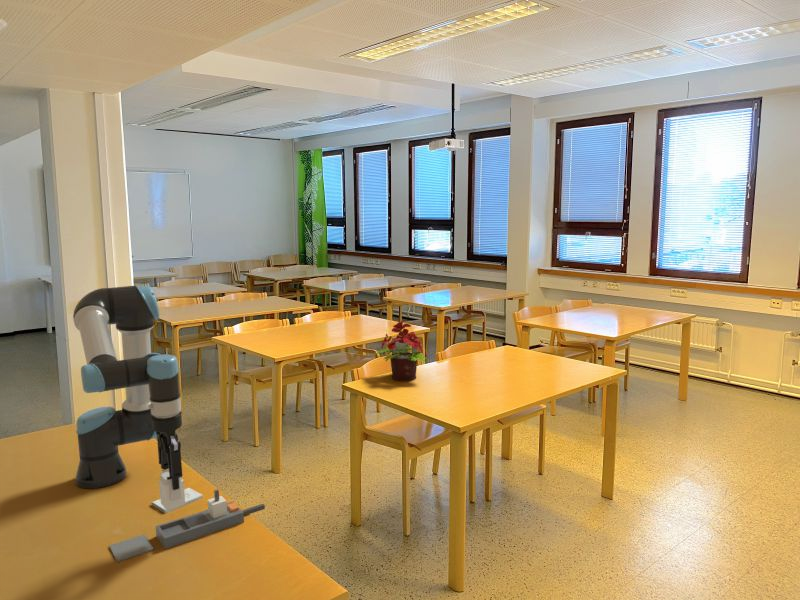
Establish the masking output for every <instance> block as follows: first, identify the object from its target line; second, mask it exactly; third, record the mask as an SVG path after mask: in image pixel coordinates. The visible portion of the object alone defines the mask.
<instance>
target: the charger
mask: <svg viewBox="0 0 800 600" xmlns="http://www.w3.org/2000/svg"><path fill="white" fill-rule="evenodd" d="M169 476H170V475H169V472H165V473H162V472H161V473H159V477H160V478H158V484H159V485H158V486H159V496H160V497H159V499H161V504H162V505H163V507H164V508H165V509H166V510H169V509H172V508H176V507H179V506H182V505H185V494H184V489H185V481H184V479H183V476H182V477H180V488H181V499H178V500H175V501H170V492H169V480H167V477H169ZM185 506H186V505H185ZM182 507H183V506H182Z"/></svg>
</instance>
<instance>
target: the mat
mask: <svg viewBox="0 0 800 600" xmlns="http://www.w3.org/2000/svg"><path fill="white" fill-rule="evenodd" d="M108 547H109V550H110V551H111V553H112V555H113V557H114V559H115V560H116V562H117V563H119V562H123V561H125V560H128V559H131V558H134V557H137V556H140V555H143V554H146V553H149V552H152V551H154V550H155V548H154V547H153V545H152V543H151V542H150V540H149V539H148V537H147V536H146V535H145V534H141V535H138V536H135V537H131V538H129V539H126V540H121V541H119V542H116V543H113V544H110V545H108Z"/></svg>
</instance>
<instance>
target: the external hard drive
mask: <svg viewBox="0 0 800 600" xmlns="http://www.w3.org/2000/svg"><path fill="white" fill-rule="evenodd" d="M184 494H185V505H182V506H179V507H176V508H172V509H169V510H166V509H165V508H164V507H163V505H162V504H161V499H160V498H159V499H157V500H153V501H151V506H152V507H154V508H156V509H157V510H159V511H160V512H162V513H164V514H168V513H170V512H173V511H175V510H177V509H180V508H182V507H185V506H187V505H189V504H191V503H194V502H196V501H199V500H201V499H203V497H204V496H203V494H202V493H200V492H198V491H196V490H194V489H193V488H191V487H187V488H184Z"/></svg>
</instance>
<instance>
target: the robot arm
mask: <svg viewBox="0 0 800 600" xmlns="http://www.w3.org/2000/svg"><path fill="white" fill-rule="evenodd" d="M72 315H73V317H72V318H73V319H72V320H73V323H74V326H75V328H76V330H78V331H79V334H80V337H81V342H82V347H83V352H84V357H85V360H86V365H82V366H81V367H80V376H81V384H82V385H81V386H82V390H83V392H84V393H87V394H92V393H102V392H107V391H114V390H119V389H120V390H121V389H125V400H124V401H123V402H122V403H121V409H118V410H116V409H115V407H113V406H100V407H97V408H93V409H90V410H88V411H85V412H83V413H82V414H81V415H79V417H78V418H77V419H76V430H75V431H76V432H75V433H76V434H77V441H78V443H77V444H78V455H79V462H78V467H77V470H76V474H75V484H76V486H77V487H79V488H82V489H98V488H104V487H108V486H111V485H112V486H113V485H114V484H117V483H119V482H121V481H122V480H123V479H125V478H126V476H127V468H126V465H125V463H124V461H123V458H122V457H121V455H120V452H119V446H123V445H129V444H130V445H131V444H134V443H140V442H143V441H150V440H153V439H156V441H157V443H156V444H157V451H158V452H157V453H158V464H159V465H160V468H161V471H162V472H161V473H165V472H169V475H170V476H169V477H167V480H169V492H170V501H175V500H178V499H181V488H180V477H182V478H183V467H182V465H183V464H182V454H181V453H182V452H181V448H182V444H181V441H179V437H178V434H177V433H176V431H177V430H178V429H180V428H181V427H182V426H183V420H182V419H183V418H182V412H181V411H182V402H181V399H182V398H181V392H180V377H179V375H180V374H179V372H180V367H179V365H178V364H179V363H178V357H177V356H175V355H173V354H161V353H158V352H152V347H151V344H152V343H151V330H152V329H153V328H154V327H155V321H158V320H159V319H160V309H159V305H158V301H157V297H156V294H155V292H154V289H153V288H152V287H151V286H150V285H137V284H136V285H128V286H127V285H126V286H115V287H103V288H102V287H101V288H97V289H95V290H92V291H90V292H88V293H87V294H85V295H84V296H83V297H82V298H81V299H80V300H79V301H78V303H77V304H76V306H75V308H74V310H73V314H72ZM109 325H115V329H116V330H117V331H118V332H120V333H121V344H122V345H121V346H122V358H123V359H118V358H117V353H116V350H115V347H114V343H113V340H112V337H111V336H112V335H111V333H110V332H111V331H110V330H109Z"/></svg>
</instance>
